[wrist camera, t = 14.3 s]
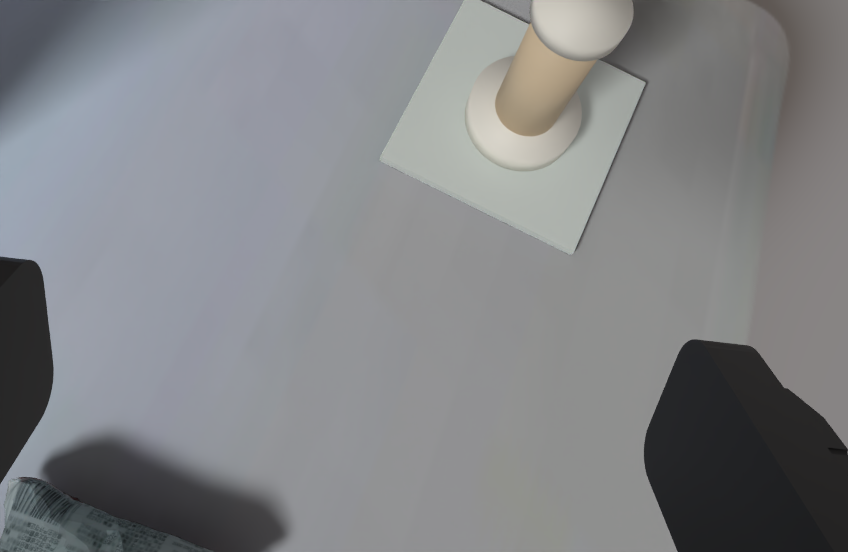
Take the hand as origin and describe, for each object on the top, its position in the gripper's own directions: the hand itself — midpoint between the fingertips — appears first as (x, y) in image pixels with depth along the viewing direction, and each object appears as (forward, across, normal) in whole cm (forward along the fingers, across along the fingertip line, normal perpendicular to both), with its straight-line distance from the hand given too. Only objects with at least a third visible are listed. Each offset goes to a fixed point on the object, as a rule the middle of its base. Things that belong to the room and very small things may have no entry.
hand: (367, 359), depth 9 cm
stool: (+33, -8, +6) cm, 35 cm away
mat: (+34, -8, +7) cm, 35 cm away
